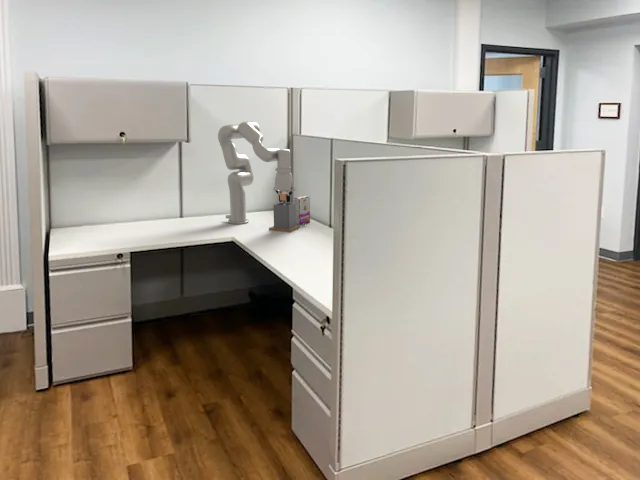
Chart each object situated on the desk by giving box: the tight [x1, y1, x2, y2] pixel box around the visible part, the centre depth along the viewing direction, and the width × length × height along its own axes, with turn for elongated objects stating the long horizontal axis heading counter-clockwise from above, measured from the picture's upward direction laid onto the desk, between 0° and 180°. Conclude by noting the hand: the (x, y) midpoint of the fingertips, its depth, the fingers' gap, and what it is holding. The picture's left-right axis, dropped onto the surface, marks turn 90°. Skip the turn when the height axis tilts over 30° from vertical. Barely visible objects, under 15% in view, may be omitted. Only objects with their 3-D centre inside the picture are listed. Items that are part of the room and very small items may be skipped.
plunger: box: [280, 192, 287, 205], centre depth 351 cm, size 7×7×19 cm
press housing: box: [268, 201, 302, 233], centre depth 352 cm, size 14×14×15 cm
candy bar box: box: [292, 195, 311, 226], centre depth 369 cm, size 11×5×16 cm, turn 146°
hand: (284, 201), depth 350 cm, fingers closed on plunger, 4 cm apart
